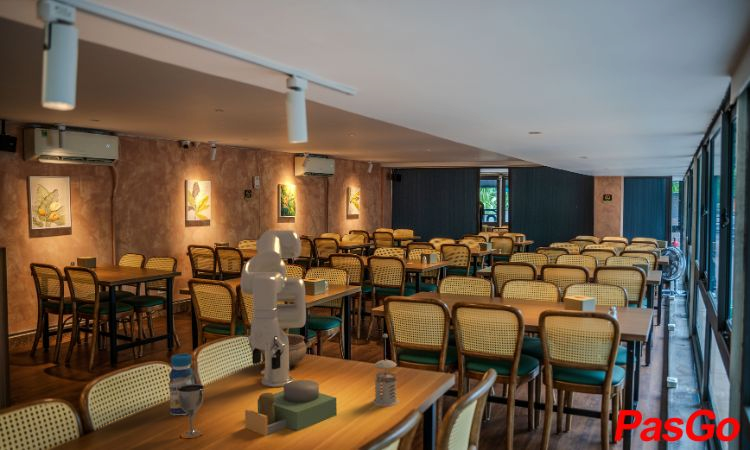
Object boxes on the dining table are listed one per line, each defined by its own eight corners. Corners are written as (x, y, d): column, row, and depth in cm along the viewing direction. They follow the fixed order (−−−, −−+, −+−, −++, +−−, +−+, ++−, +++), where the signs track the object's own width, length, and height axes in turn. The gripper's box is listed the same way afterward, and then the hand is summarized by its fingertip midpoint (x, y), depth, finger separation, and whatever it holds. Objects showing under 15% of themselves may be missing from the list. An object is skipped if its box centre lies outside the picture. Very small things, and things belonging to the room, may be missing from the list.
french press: (403, 399, 219) (402, 332, 218) (391, 409, 209) (390, 339, 208) (379, 395, 224) (378, 329, 222) (365, 405, 213) (365, 336, 212)
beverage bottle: (200, 409, 211) (198, 353, 210) (185, 417, 203) (183, 359, 202) (180, 406, 214) (178, 351, 213) (164, 415, 206) (163, 358, 205)
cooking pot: (264, 375, 251) (263, 346, 251) (251, 364, 268) (251, 337, 267) (319, 367, 263) (318, 339, 262) (304, 357, 279) (303, 331, 279)
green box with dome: (236, 424, 197) (235, 394, 196) (297, 402, 217) (296, 375, 217) (275, 439, 184) (274, 407, 183) (336, 414, 204) (336, 386, 204)
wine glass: (182, 430, 192) (180, 384, 192) (207, 429, 193) (206, 383, 192) (175, 440, 184) (174, 392, 184) (202, 438, 185) (200, 391, 184)
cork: (272, 431, 191) (271, 397, 190) (255, 429, 192) (254, 396, 191) (279, 424, 197) (278, 391, 196) (262, 422, 198) (261, 390, 197)
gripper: (239, 312, 195) (240, 363, 196) (273, 319, 184) (274, 373, 185) (257, 308, 201) (258, 358, 202) (291, 315, 190) (292, 368, 191)
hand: (266, 365), depth 193 cm, fingers open, 9 cm apart
